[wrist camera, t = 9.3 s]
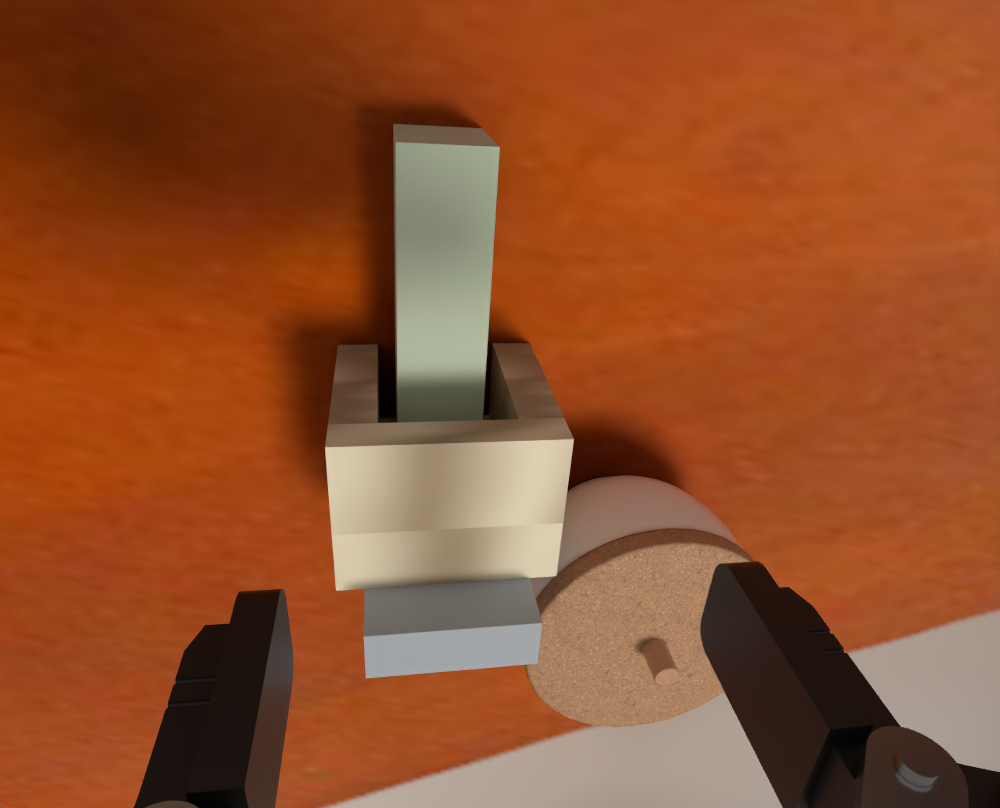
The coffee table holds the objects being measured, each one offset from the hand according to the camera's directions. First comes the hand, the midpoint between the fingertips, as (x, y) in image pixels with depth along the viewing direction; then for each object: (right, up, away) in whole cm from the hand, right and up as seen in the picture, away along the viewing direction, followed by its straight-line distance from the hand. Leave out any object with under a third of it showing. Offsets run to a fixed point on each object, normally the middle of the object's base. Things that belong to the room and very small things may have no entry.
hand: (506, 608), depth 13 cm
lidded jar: (+5, -2, +23) cm, 23 cm away
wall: (-3, 0, +19) cm, 20 cm away
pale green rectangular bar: (-3, +9, +15) cm, 18 cm away
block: (-3, +4, +17) cm, 18 cm away
